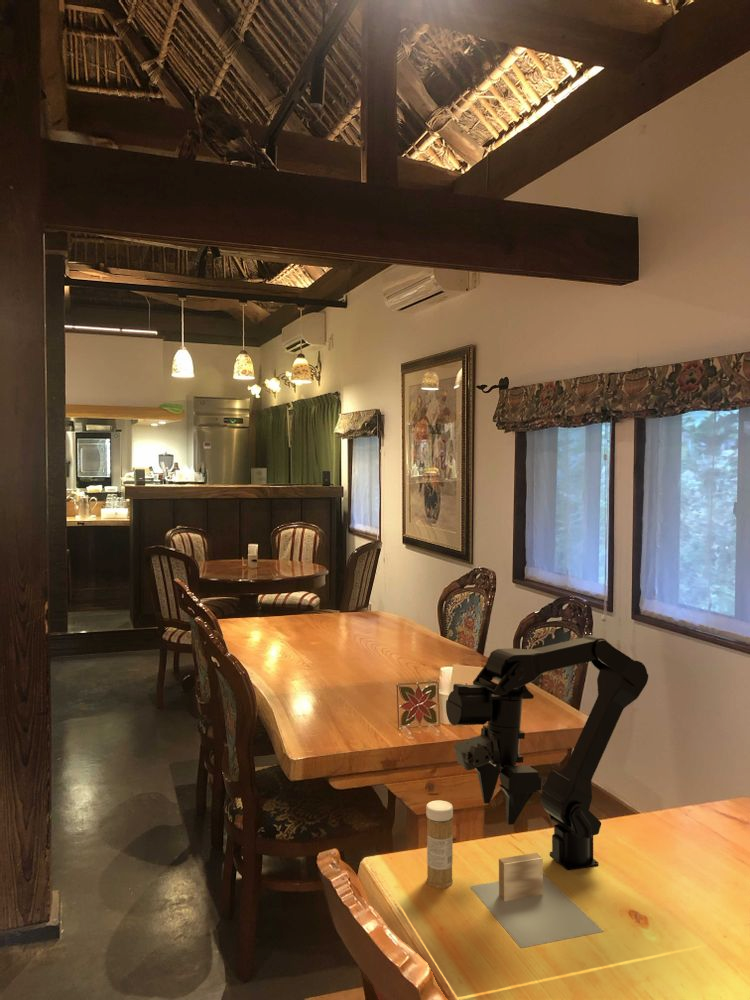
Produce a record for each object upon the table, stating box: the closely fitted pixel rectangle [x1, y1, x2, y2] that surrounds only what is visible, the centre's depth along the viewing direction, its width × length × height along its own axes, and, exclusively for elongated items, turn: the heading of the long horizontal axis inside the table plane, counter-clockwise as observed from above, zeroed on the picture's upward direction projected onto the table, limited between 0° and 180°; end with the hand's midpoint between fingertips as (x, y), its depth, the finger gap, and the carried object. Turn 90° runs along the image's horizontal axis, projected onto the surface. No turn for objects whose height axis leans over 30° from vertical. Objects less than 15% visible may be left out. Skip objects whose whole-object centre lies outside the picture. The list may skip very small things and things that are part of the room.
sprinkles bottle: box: [425, 799, 454, 889], centre depth 125 cm, size 5×5×14 cm
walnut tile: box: [498, 852, 544, 901], centre depth 121 cm, size 7×2×6 cm, turn 107°
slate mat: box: [469, 873, 605, 949], centre depth 117 cm, size 14×18×1 cm
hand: (498, 813), depth 128 cm, fingers open, 9 cm apart
